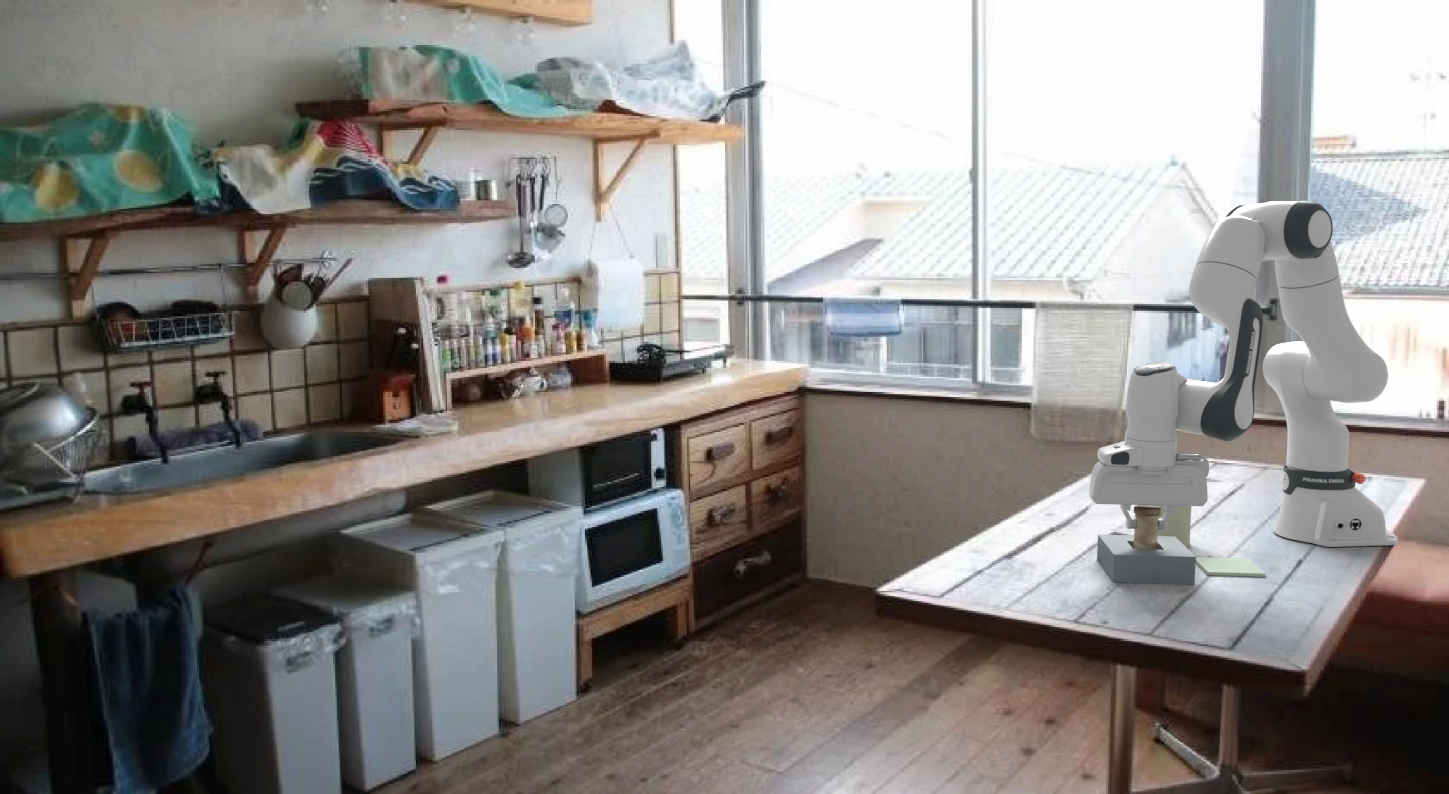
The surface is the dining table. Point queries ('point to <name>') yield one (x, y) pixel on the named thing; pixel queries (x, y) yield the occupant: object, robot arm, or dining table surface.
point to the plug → (1146, 526)
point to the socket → (1146, 560)
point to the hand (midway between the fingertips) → (1146, 528)
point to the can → (1178, 524)
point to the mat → (1229, 567)
